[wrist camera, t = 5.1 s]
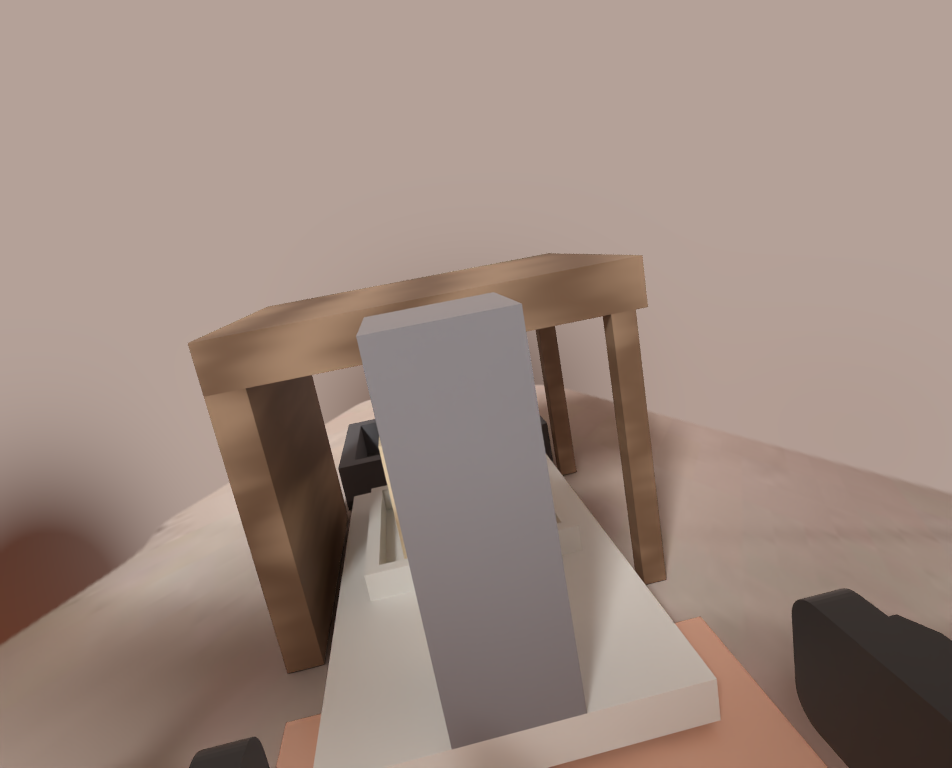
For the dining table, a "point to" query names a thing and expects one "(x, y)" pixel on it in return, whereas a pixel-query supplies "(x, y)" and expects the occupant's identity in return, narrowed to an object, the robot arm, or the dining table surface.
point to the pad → (675, 755)
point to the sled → (487, 575)
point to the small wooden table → (335, 347)
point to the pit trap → (376, 459)
